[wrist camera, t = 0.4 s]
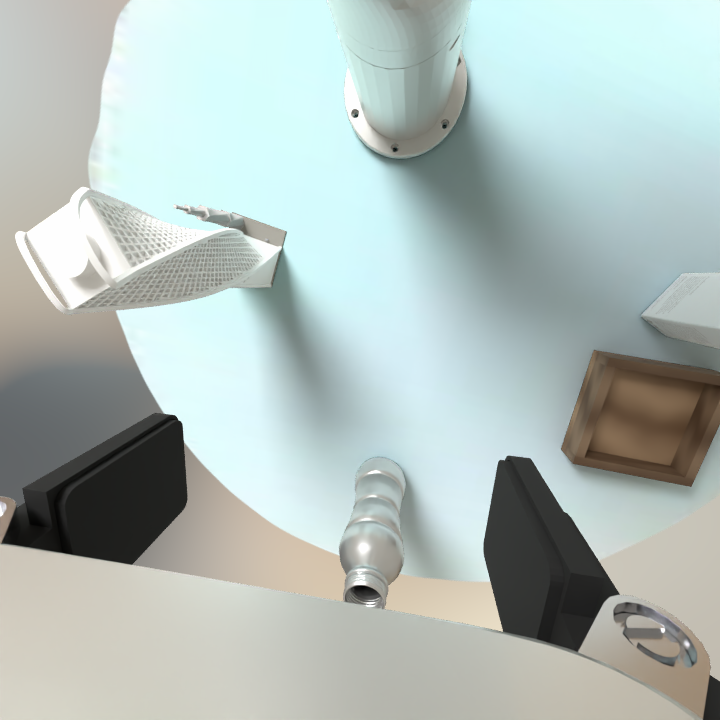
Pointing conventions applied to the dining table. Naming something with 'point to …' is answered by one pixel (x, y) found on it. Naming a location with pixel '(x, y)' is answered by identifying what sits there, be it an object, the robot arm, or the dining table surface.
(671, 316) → the skincare box
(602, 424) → the walnut tray
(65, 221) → the skyscraper
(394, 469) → the plastic bottle
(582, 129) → the dining table surface
